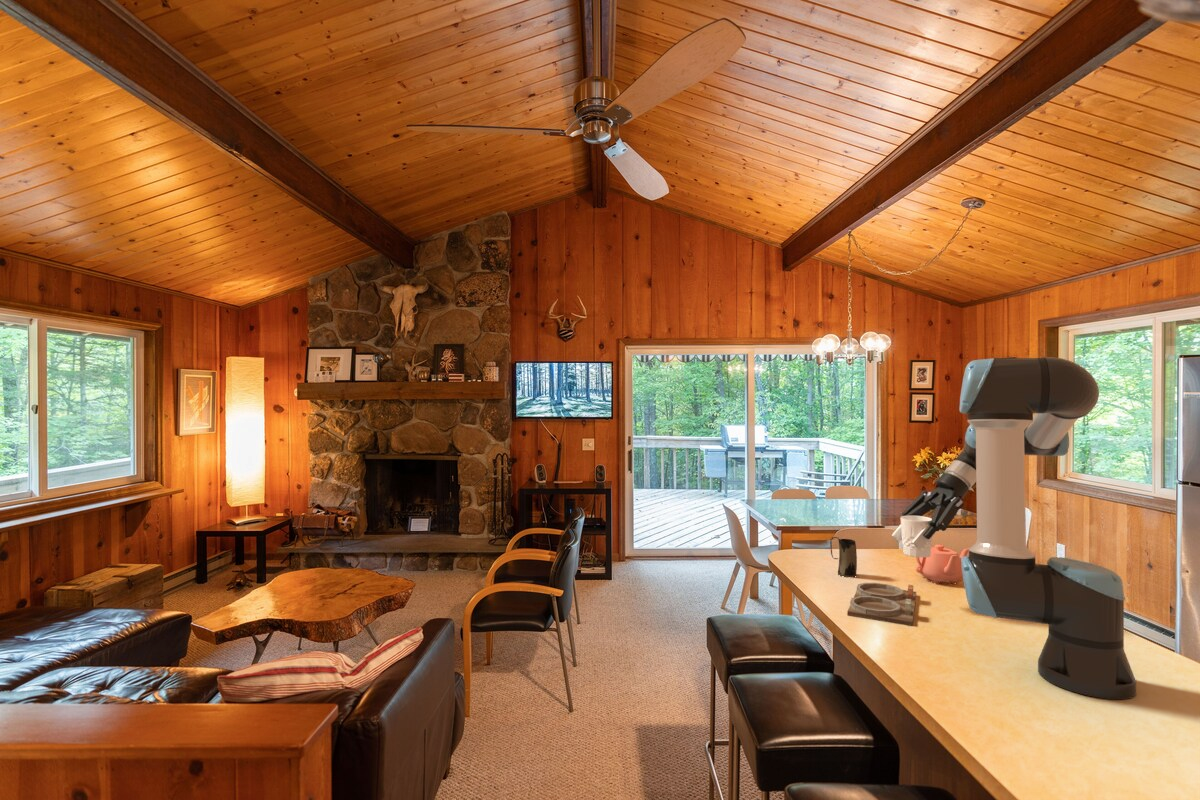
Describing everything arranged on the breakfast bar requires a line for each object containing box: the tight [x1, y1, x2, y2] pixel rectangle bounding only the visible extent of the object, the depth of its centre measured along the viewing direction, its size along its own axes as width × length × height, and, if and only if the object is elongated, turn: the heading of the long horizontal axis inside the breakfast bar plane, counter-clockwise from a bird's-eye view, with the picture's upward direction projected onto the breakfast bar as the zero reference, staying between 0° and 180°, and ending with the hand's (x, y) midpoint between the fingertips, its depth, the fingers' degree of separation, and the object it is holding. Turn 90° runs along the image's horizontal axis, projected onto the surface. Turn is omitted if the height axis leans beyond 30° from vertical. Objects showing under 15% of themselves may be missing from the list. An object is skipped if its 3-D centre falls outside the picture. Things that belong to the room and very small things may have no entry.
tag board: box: [846, 582, 917, 626], centre depth 164 cm, size 27×15×4 cm, turn 150°
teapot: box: [915, 544, 970, 585], centre depth 187 cm, size 14×14×11 cm
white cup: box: [899, 515, 933, 558], centre depth 165 cm, size 8×8×10 cm
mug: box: [829, 536, 858, 578], centre depth 193 cm, size 8×6×12 cm
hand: (905, 542), depth 165 cm, fingers closed on white cup, 8 cm apart
